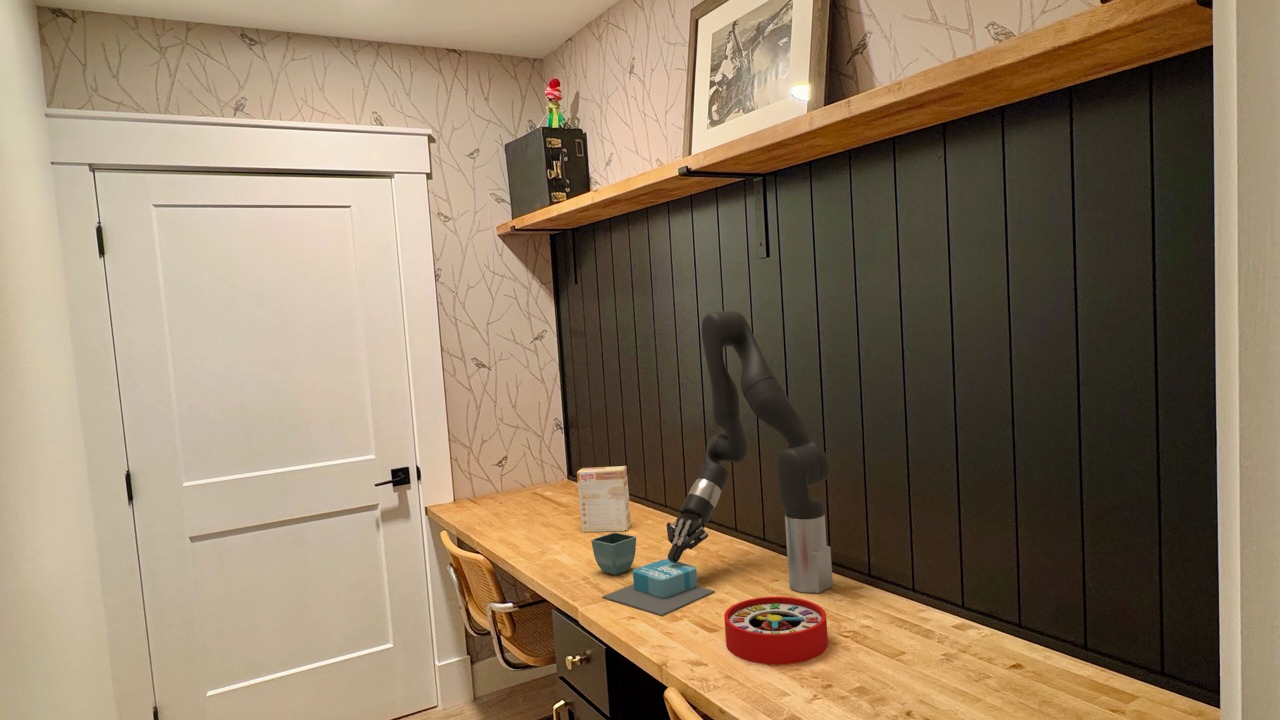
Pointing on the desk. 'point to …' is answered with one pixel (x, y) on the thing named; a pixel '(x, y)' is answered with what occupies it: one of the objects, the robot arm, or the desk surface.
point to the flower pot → (614, 552)
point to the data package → (665, 578)
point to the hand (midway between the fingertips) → (671, 561)
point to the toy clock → (776, 630)
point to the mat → (657, 599)
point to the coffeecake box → (604, 499)
